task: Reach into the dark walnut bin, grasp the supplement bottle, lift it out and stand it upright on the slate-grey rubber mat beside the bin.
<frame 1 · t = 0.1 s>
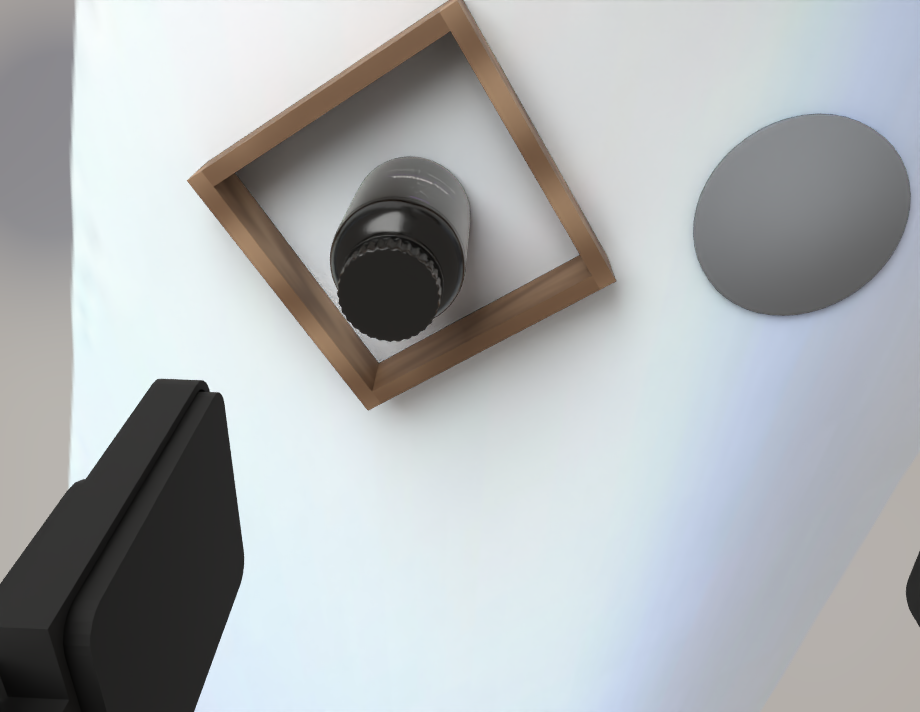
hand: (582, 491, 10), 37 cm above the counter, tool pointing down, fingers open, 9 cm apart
mat: (798, 219, 47), on the counter
bin: (411, 211, 47), on the counter
supplement bottle: (412, 209, 48), resting in bin
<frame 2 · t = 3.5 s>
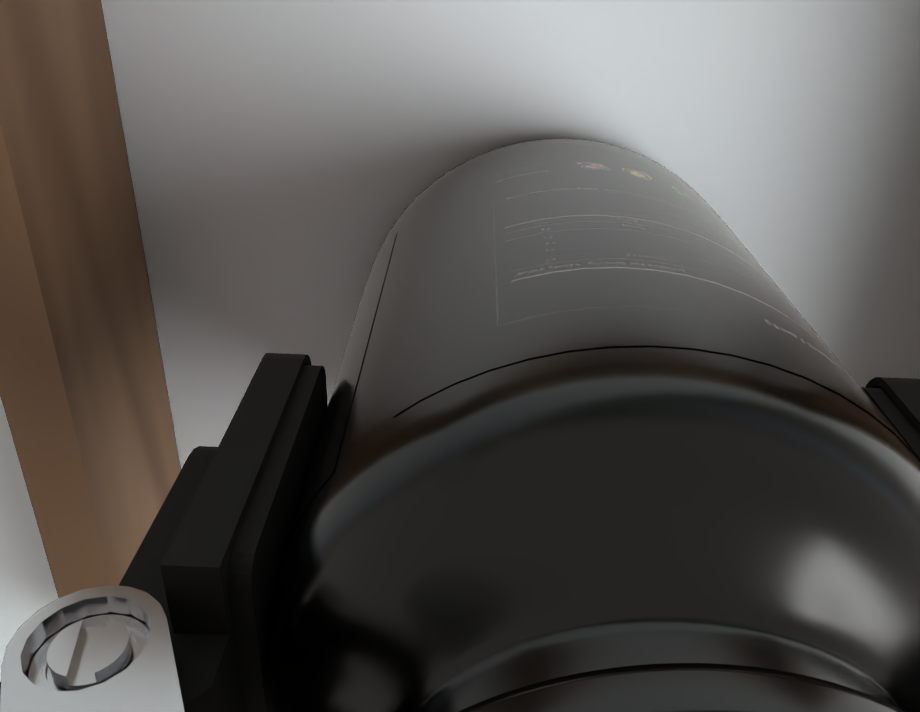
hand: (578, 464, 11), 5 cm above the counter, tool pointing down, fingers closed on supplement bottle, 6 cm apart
bin: (552, 311, 15), on the counter
supplement bottle: (551, 305, 15), resting in bin, touching gripper
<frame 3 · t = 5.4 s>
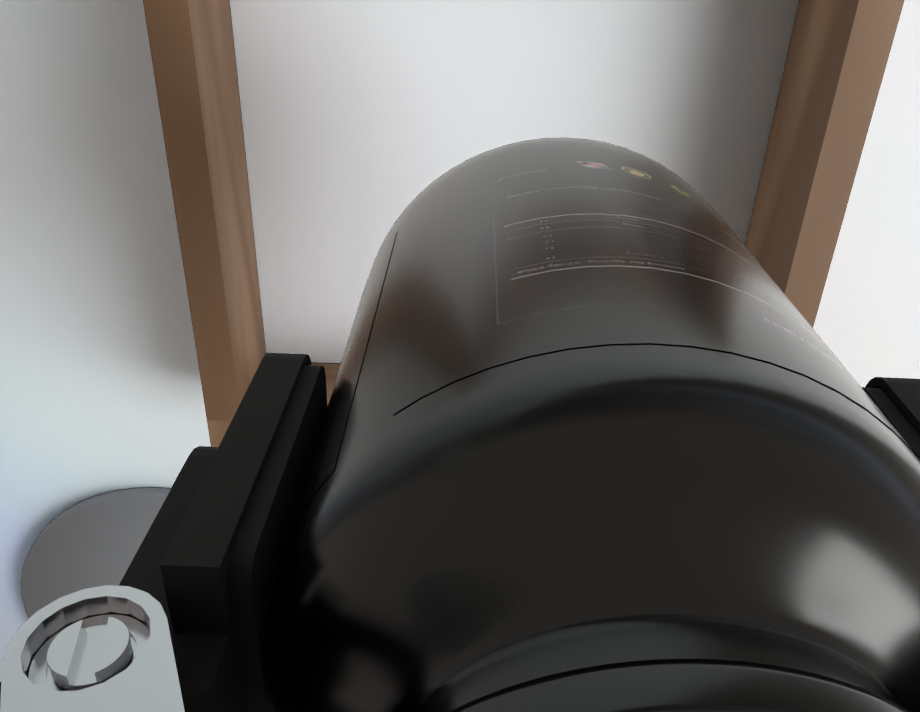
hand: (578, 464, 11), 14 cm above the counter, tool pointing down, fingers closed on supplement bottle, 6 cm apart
mat: (180, 604, 33), on the counter
bin: (505, 143, 23), on the counter
supplement bottle: (551, 305, 15), point 9 cm above the counter, touching gripper
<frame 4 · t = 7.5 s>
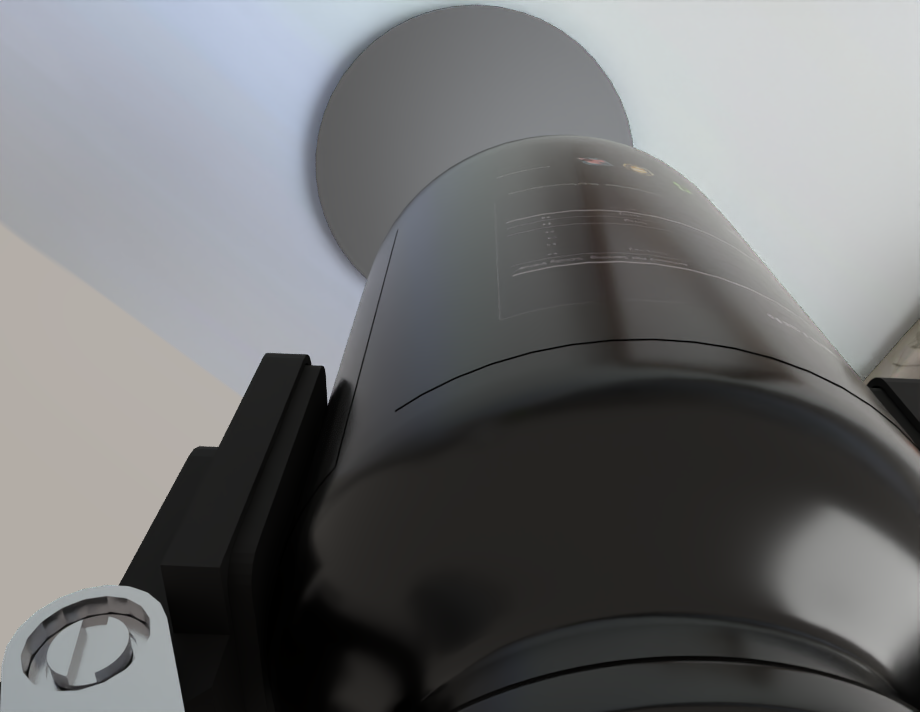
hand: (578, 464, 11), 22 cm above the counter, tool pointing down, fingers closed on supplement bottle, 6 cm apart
mat: (474, 174, 31), on the counter
supplement bottle: (552, 302, 15), point 17 cm above the counter, touching gripper
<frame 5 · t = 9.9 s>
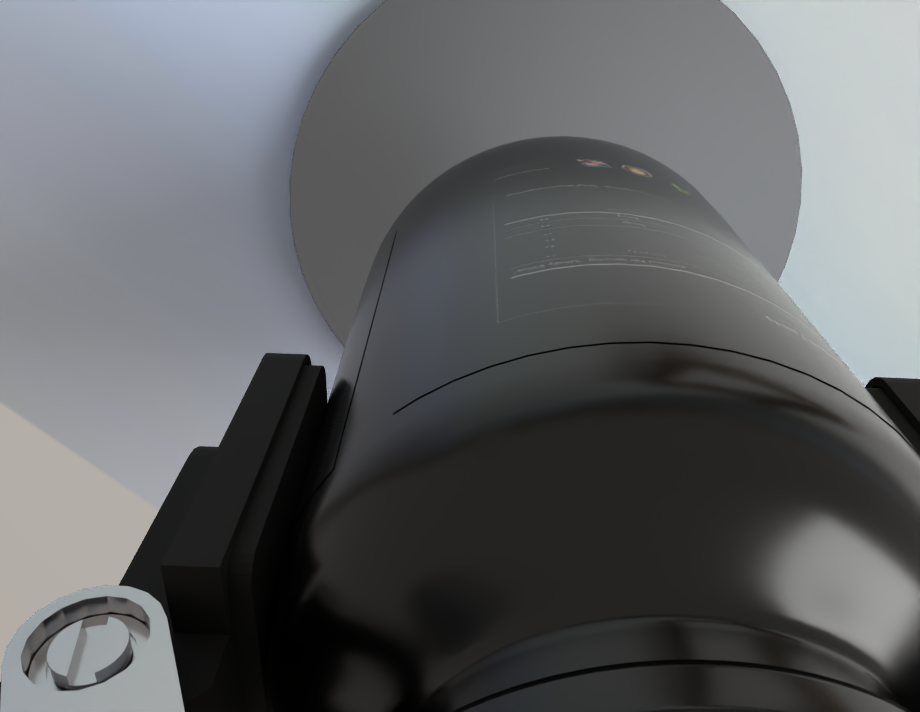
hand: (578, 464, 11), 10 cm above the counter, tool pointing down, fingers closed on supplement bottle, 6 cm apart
mat: (540, 217, 20), on the counter
supplement bottle: (551, 304, 15), point 5 cm above the counter, touching gripper
when the fingers open (7 cm above the counter, at t = 11.6 s): supplement bottle drops 1 cm, resting on mat.
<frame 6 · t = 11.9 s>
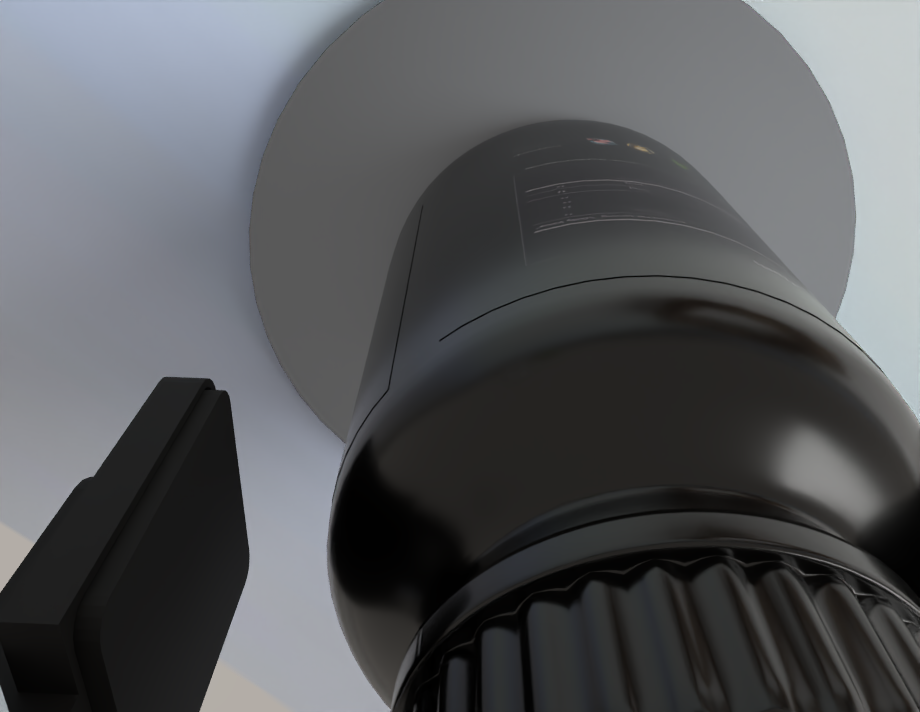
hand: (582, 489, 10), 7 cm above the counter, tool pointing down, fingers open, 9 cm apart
mat: (545, 269, 17), on the counter
supplement bottle: (561, 276, 16), resting on mat
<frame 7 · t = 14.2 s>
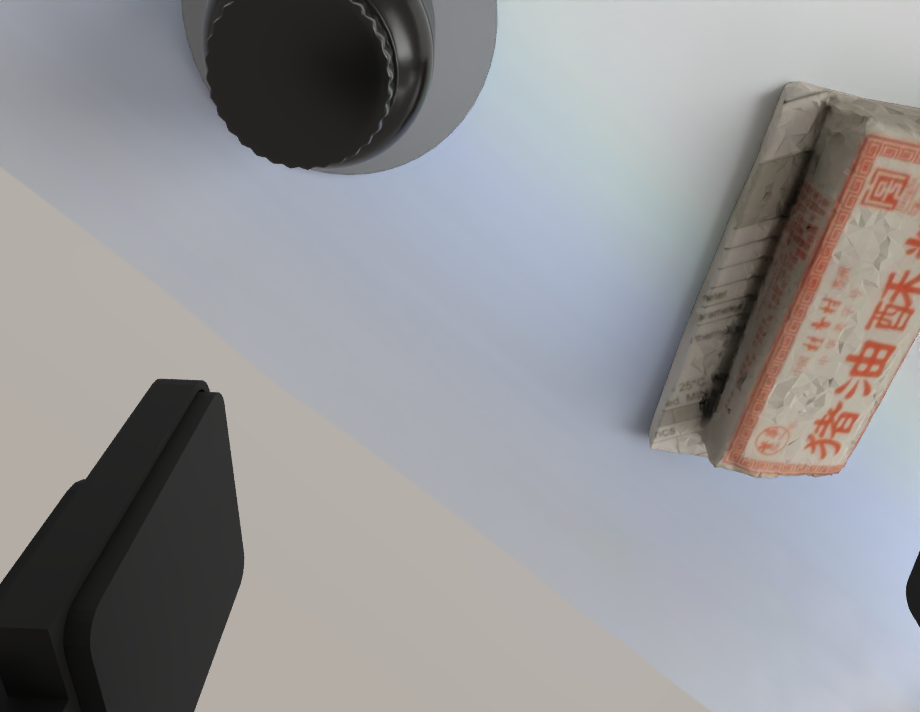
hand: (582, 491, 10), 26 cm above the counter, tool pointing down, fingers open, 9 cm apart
mat: (342, 19, 31), on the counter
packaged product: (801, 291, 38), on the counter
supplement bottle: (349, 20, 31), resting on mat
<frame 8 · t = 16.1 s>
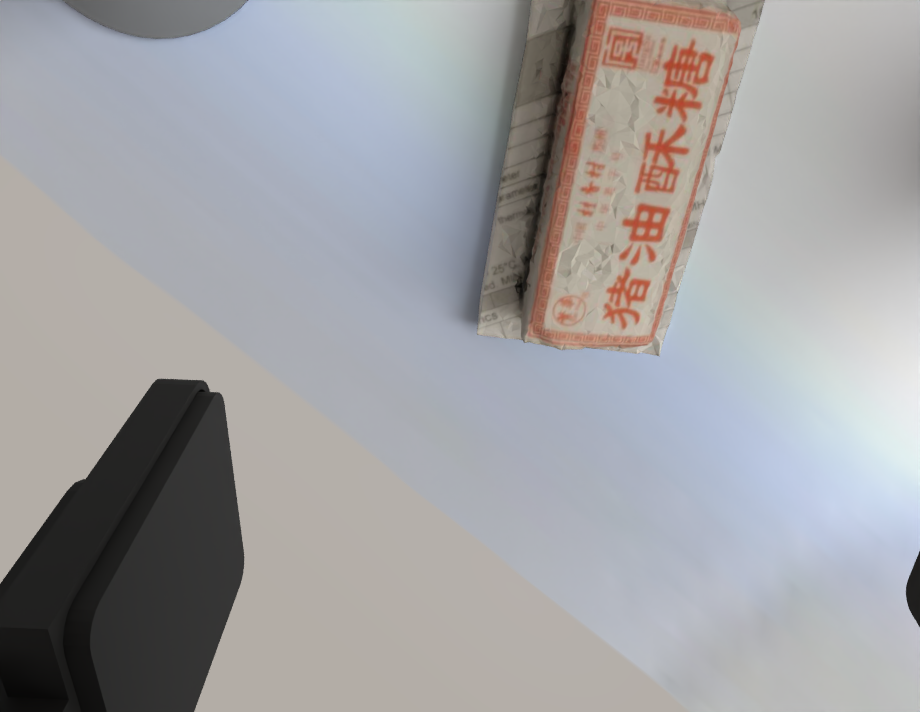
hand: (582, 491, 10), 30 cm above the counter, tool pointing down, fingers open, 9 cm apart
packaged product: (602, 172, 40), on the counter
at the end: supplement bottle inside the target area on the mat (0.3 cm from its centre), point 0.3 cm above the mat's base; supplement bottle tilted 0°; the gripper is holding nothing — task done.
